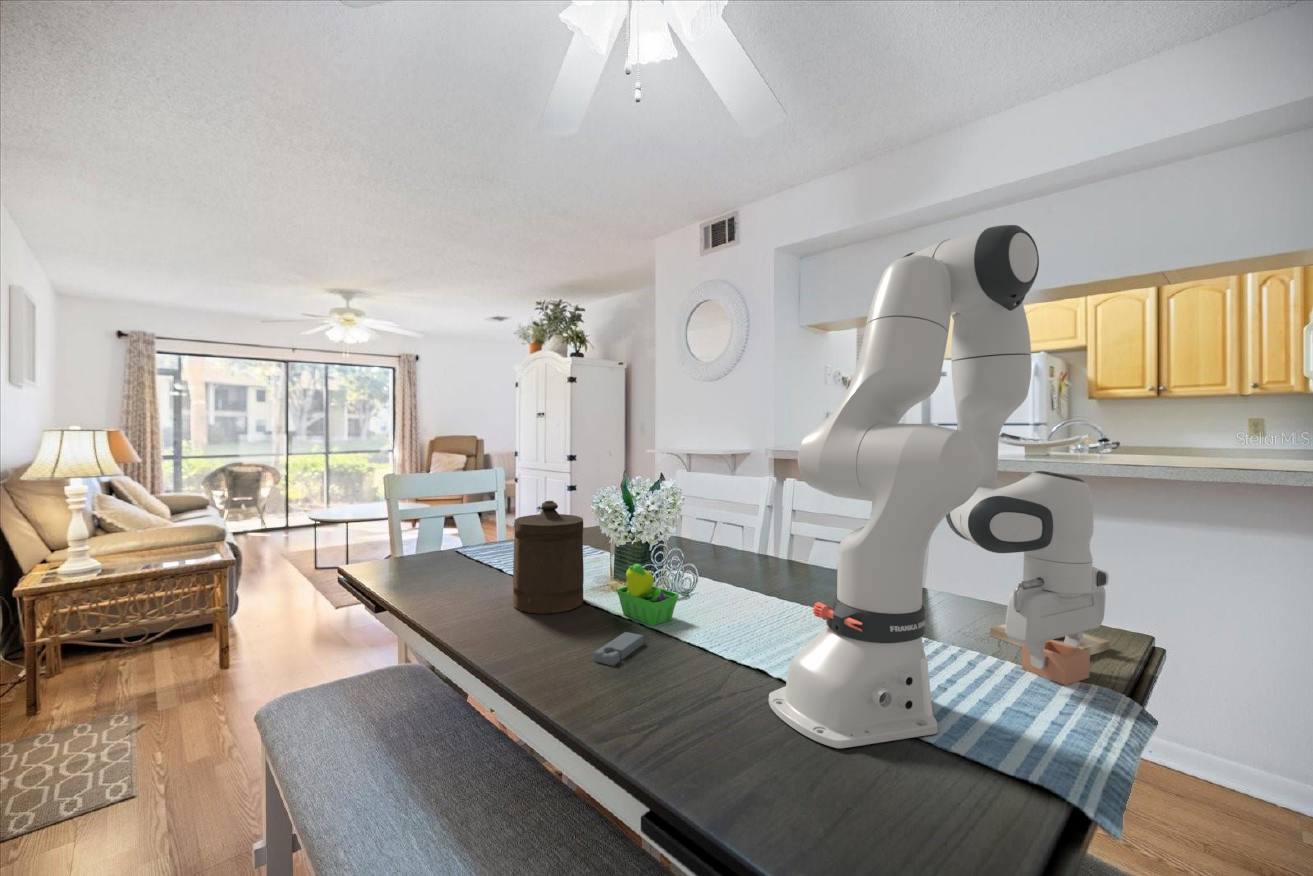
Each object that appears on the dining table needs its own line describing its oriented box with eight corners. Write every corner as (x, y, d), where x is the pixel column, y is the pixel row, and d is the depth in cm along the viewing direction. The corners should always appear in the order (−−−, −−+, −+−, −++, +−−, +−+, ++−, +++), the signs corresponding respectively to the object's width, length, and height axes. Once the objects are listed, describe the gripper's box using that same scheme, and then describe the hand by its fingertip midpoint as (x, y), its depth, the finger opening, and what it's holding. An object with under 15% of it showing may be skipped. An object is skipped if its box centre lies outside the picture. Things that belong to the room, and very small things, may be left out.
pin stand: (1066, 662, 94) (1067, 605, 93) (990, 635, 105) (991, 584, 105) (1109, 649, 99) (1111, 595, 99) (1033, 625, 111) (1034, 577, 111)
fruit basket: (680, 619, 113) (681, 563, 112) (648, 631, 107) (649, 571, 106) (641, 606, 121) (642, 553, 121) (609, 615, 115) (609, 560, 114)
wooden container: (575, 590, 132) (575, 495, 131) (590, 610, 118) (591, 504, 118) (509, 596, 127) (509, 498, 126) (517, 618, 113) (517, 507, 112)
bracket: (644, 646, 100) (644, 635, 100) (613, 668, 91) (613, 656, 91) (624, 642, 102) (624, 631, 102) (592, 664, 93) (592, 651, 93)
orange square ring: (1065, 685, 85) (1065, 659, 85) (1021, 668, 91) (1022, 644, 91) (1089, 677, 88) (1090, 651, 88) (1045, 661, 94) (1046, 637, 94)
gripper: (1037, 588, 82) (1035, 683, 82) (1115, 573, 91) (1112, 658, 91) (994, 577, 88) (992, 666, 88) (1071, 564, 97) (1069, 644, 97)
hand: (1054, 662), depth 90 cm, fingers closed on orange square ring, 6 cm apart
